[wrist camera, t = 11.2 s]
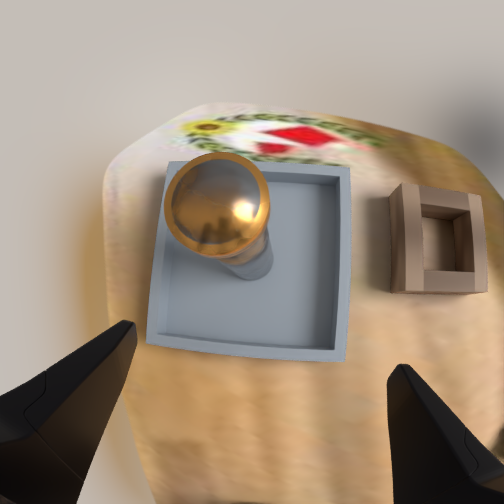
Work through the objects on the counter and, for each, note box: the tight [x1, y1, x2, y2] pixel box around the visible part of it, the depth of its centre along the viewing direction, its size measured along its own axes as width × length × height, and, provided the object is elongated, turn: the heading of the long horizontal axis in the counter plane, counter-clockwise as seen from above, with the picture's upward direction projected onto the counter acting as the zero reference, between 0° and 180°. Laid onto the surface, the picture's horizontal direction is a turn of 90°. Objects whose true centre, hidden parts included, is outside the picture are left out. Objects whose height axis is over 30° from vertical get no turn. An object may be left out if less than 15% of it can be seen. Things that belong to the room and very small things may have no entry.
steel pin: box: [164, 152, 274, 281], centre depth 17 cm, size 4×4×12 cm
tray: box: [146, 161, 351, 362], centre depth 22 cm, size 14×14×2 cm
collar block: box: [389, 183, 488, 294], centre depth 21 cm, size 8×8×3 cm
